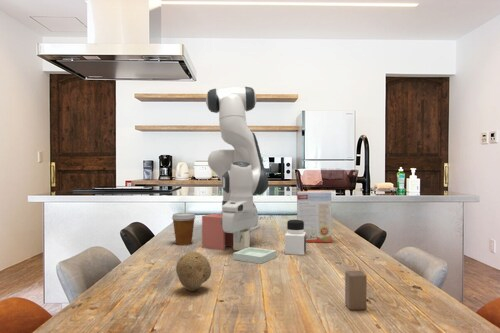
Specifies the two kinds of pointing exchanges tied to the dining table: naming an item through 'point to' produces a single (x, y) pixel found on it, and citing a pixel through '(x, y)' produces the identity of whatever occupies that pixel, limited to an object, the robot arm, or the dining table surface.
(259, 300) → the dining table surface
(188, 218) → the disposable coffee cup
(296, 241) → the medicine bottle
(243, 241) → the tall beige block
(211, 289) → the dining table surface
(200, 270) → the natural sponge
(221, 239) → the block
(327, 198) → the cracker box
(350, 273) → the wooden block
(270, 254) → the dish
